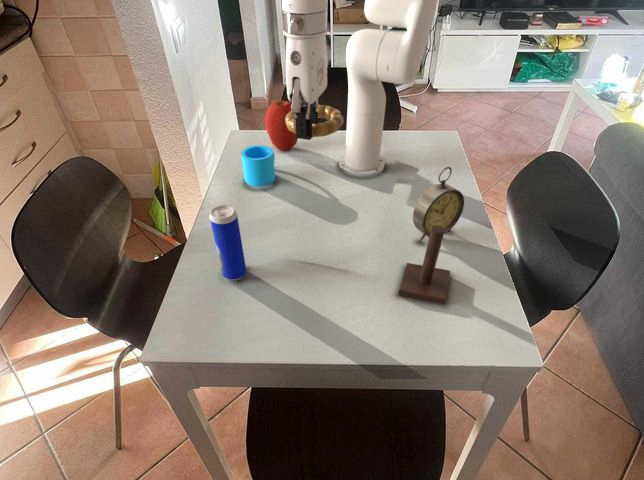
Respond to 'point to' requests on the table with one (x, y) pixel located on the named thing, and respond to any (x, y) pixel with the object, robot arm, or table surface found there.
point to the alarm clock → (438, 207)
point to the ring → (319, 128)
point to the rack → (427, 274)
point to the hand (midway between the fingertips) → (307, 133)
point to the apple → (280, 125)
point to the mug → (258, 165)
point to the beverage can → (228, 241)
